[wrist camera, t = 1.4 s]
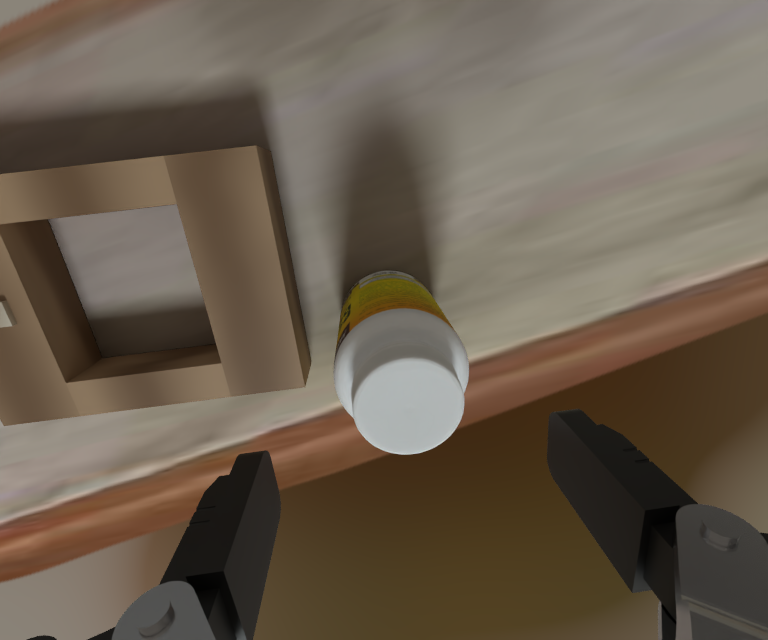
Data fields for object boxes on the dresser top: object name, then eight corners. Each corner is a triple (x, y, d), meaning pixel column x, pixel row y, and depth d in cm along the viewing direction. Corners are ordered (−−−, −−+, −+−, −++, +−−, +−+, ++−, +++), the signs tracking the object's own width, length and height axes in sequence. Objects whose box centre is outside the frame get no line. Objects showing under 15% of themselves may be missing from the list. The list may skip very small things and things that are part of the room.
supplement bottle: (336, 271, 22) (320, 339, 12) (433, 265, 22) (493, 327, 12) (344, 360, 24) (335, 480, 14) (433, 353, 24) (485, 467, 14)
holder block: (270, 151, 19) (254, 144, 16) (311, 362, 24) (304, 389, 20) (-51, 187, 19) (-130, 187, 16) (47, 396, 23) (-2, 429, 20)
